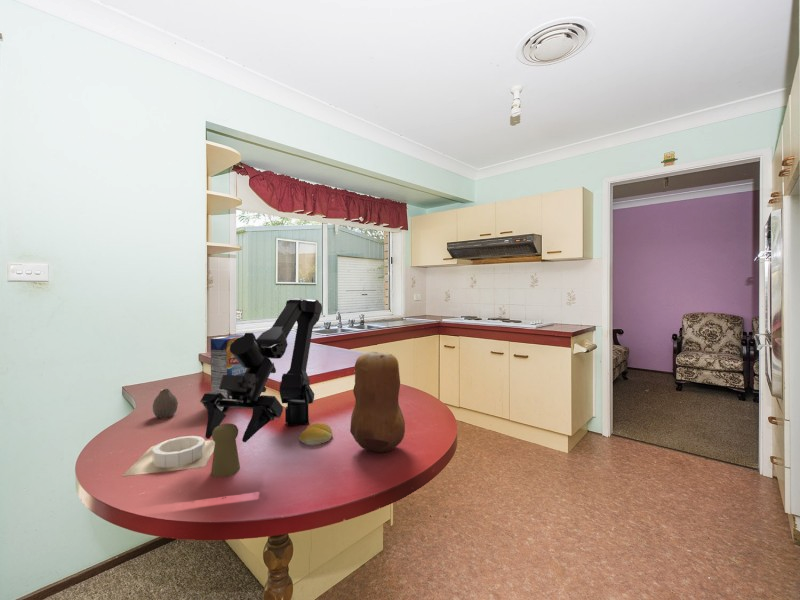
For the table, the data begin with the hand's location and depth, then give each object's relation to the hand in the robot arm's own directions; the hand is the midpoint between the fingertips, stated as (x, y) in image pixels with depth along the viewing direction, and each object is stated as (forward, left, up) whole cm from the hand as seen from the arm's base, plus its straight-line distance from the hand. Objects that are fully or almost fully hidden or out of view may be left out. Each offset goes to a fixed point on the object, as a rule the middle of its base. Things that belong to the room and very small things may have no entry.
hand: (225, 439), depth 80 cm
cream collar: (+12, -10, -7) cm, 17 cm away
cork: (0, 0, -8) cm, 8 cm away
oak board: (+13, -11, -8) cm, 19 cm away
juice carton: (+9, -59, -8) cm, 60 cm away
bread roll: (-20, -15, -8) cm, 26 cm away
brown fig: (+27, -47, -8) cm, 55 cm away
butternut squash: (-35, -4, -8) cm, 36 cm away
